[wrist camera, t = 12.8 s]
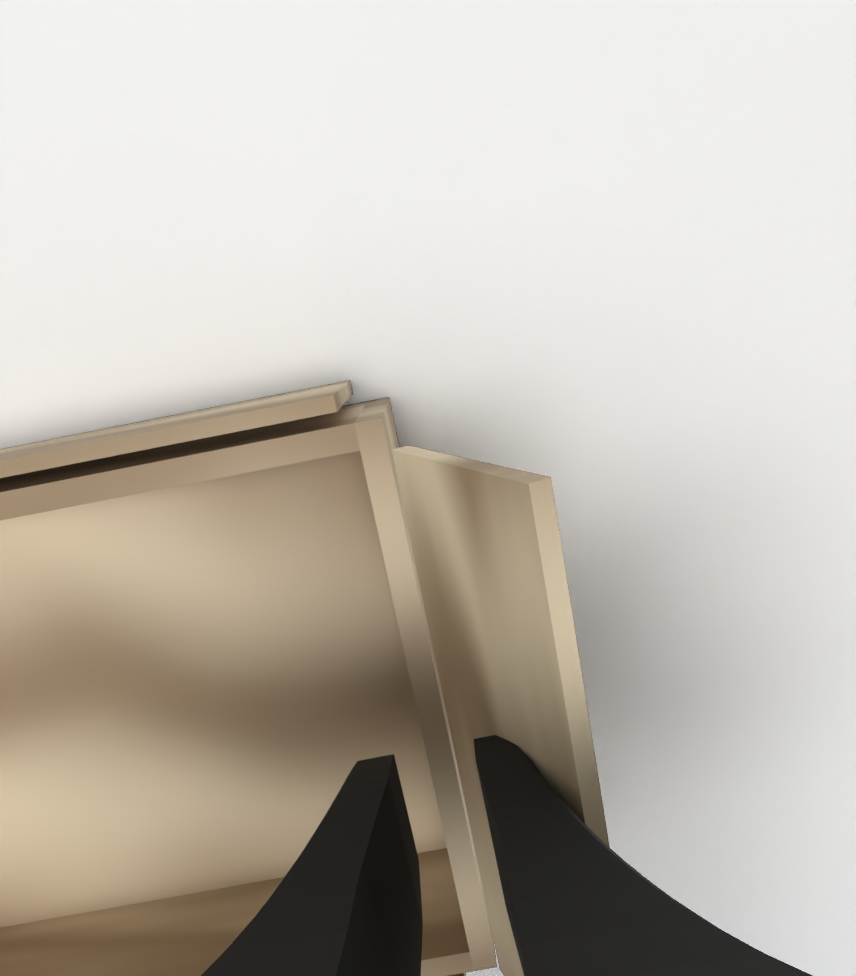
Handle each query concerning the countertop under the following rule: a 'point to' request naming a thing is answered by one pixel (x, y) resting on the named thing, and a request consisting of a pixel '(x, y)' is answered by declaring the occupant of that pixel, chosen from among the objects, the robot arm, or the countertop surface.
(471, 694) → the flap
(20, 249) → the countertop surface
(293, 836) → the carton
